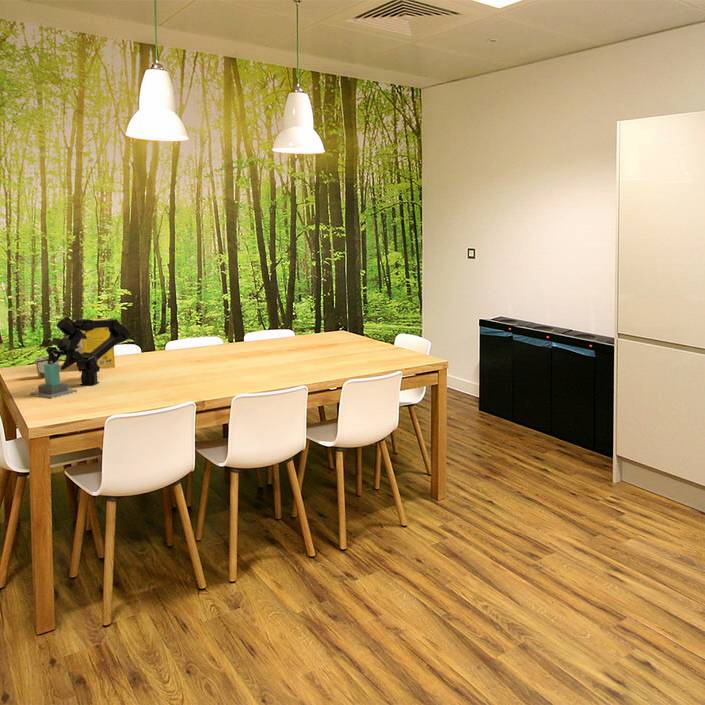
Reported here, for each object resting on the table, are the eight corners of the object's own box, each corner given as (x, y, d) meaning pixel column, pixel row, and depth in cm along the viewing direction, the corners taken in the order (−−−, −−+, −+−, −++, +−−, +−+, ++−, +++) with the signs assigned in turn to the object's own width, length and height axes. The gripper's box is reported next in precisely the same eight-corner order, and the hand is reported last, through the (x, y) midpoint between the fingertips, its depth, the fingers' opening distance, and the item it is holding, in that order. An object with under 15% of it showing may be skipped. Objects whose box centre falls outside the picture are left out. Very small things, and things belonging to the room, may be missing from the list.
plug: (54, 389, 318) (51, 359, 315) (60, 390, 316) (58, 360, 313) (45, 391, 314) (43, 361, 311) (52, 392, 312) (50, 362, 309)
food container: (54, 374, 356) (53, 354, 354) (60, 375, 352) (59, 356, 350) (31, 377, 346) (29, 358, 344) (37, 379, 342) (35, 359, 341)
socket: (55, 388, 324) (55, 380, 323) (76, 391, 318) (76, 383, 317) (30, 394, 312) (29, 386, 311) (51, 398, 306) (50, 389, 305)
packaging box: (77, 365, 377) (73, 320, 373) (107, 362, 386) (104, 318, 381) (83, 370, 364) (80, 323, 359) (115, 367, 372) (112, 321, 368)
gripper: (47, 329, 320) (28, 356, 312) (75, 332, 311) (57, 360, 304) (62, 343, 328) (44, 370, 321) (90, 346, 320) (73, 374, 312)
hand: (54, 368), depth 314 cm, fingers open, 9 cm apart
